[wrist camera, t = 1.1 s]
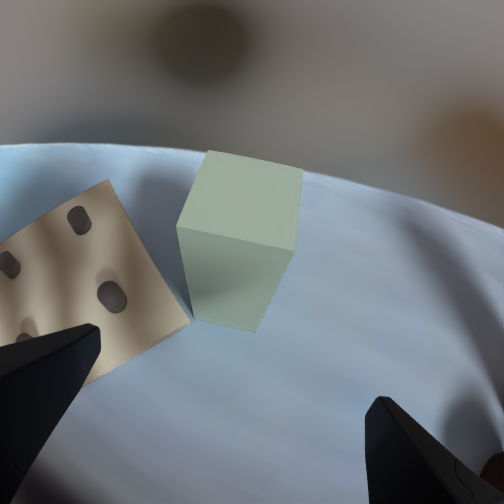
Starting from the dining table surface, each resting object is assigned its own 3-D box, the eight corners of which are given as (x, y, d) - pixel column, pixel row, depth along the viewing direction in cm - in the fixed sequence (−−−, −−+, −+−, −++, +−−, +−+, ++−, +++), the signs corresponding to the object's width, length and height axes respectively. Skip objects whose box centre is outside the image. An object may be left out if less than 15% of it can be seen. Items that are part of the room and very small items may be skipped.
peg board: (27, 417, 16) (8, 415, 13) (-14, 261, 22) (-28, 248, 20) (190, 323, 23) (187, 311, 20) (110, 185, 29) (103, 166, 26)
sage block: (255, 332, 23) (294, 251, 12) (194, 319, 23) (176, 225, 12) (265, 278, 26) (303, 169, 15) (209, 266, 26) (208, 150, 14)
